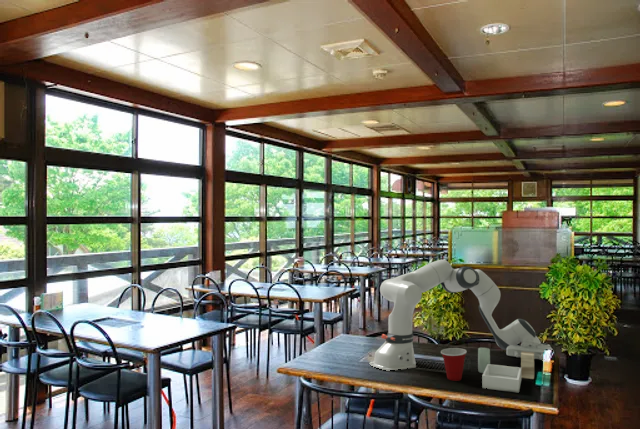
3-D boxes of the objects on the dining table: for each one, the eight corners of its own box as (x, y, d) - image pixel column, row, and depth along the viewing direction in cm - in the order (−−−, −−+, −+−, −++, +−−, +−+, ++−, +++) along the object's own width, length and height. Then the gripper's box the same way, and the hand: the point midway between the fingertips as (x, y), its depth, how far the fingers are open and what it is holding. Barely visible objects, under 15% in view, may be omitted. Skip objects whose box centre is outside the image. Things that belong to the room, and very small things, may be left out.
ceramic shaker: (485, 373, 219) (485, 350, 220) (475, 371, 224) (475, 348, 224) (492, 371, 222) (492, 349, 222) (482, 369, 226) (482, 346, 227)
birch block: (533, 379, 212) (533, 355, 212) (521, 377, 214) (520, 354, 214) (534, 375, 217) (534, 352, 217) (521, 374, 219) (521, 351, 219)
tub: (518, 392, 195) (518, 379, 195) (482, 388, 201) (482, 375, 201) (521, 379, 211) (521, 367, 211) (487, 375, 217) (487, 363, 217)
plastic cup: (438, 374, 219) (438, 347, 219) (463, 374, 218) (463, 347, 218) (443, 382, 208) (443, 353, 208) (469, 382, 207) (469, 353, 208)
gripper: (507, 340, 243) (504, 347, 231) (553, 344, 235) (553, 352, 222) (507, 353, 243) (504, 361, 231) (553, 358, 235) (553, 366, 222)
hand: (529, 356), depth 226 cm, fingers open, 8 cm apart
